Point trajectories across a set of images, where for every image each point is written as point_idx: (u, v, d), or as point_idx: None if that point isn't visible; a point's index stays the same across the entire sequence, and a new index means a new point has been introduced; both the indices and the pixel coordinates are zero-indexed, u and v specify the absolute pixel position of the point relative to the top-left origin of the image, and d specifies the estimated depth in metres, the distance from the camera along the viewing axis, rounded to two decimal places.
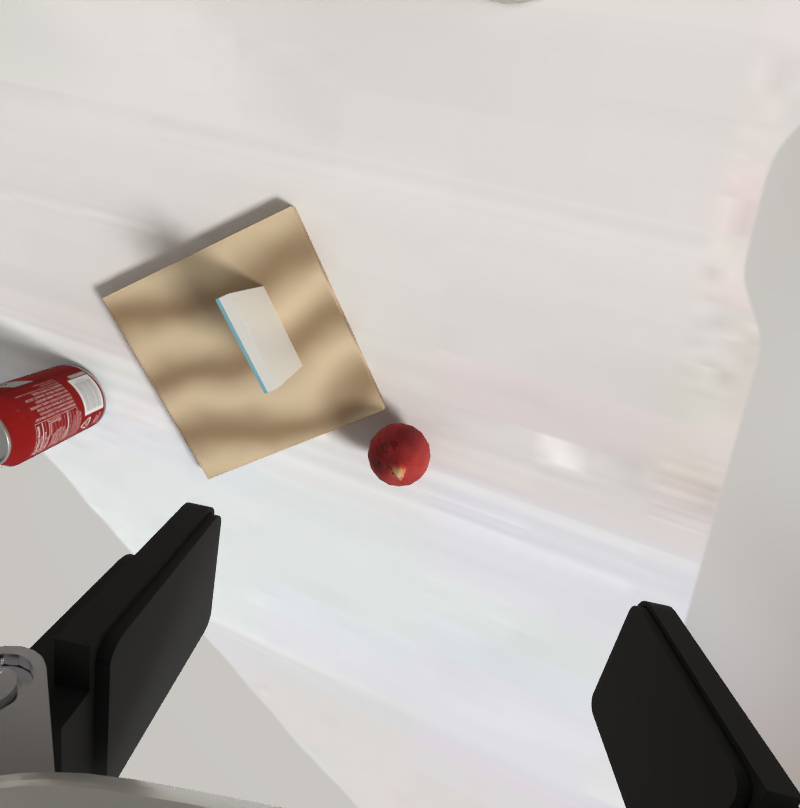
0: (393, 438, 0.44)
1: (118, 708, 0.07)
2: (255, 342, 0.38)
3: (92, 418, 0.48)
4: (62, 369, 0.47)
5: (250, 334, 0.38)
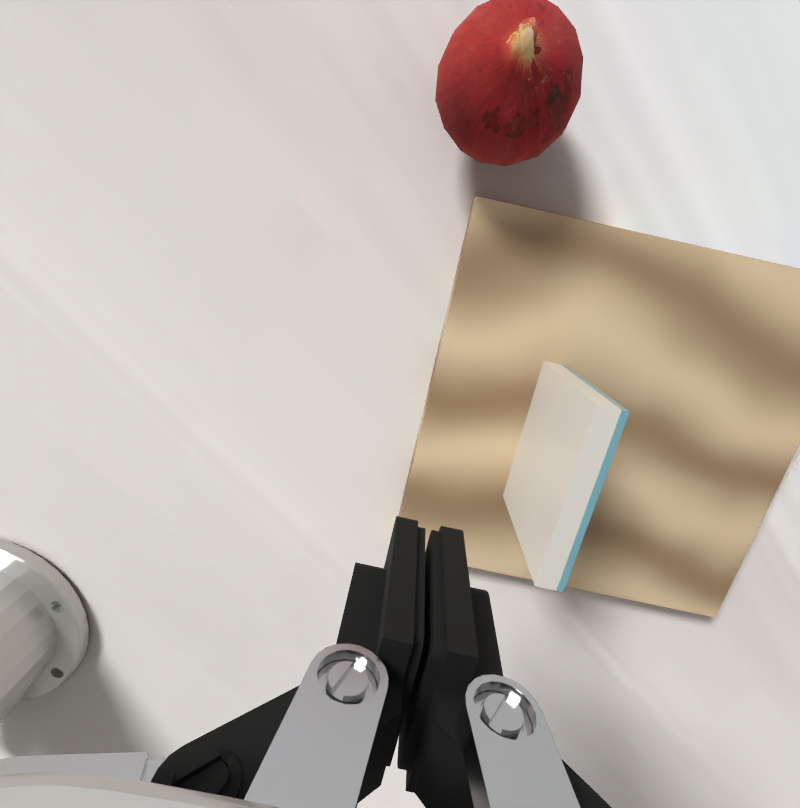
0: (486, 134, 0.19)
1: None
2: (563, 496, 0.19)
3: None
4: None
5: (559, 514, 0.19)
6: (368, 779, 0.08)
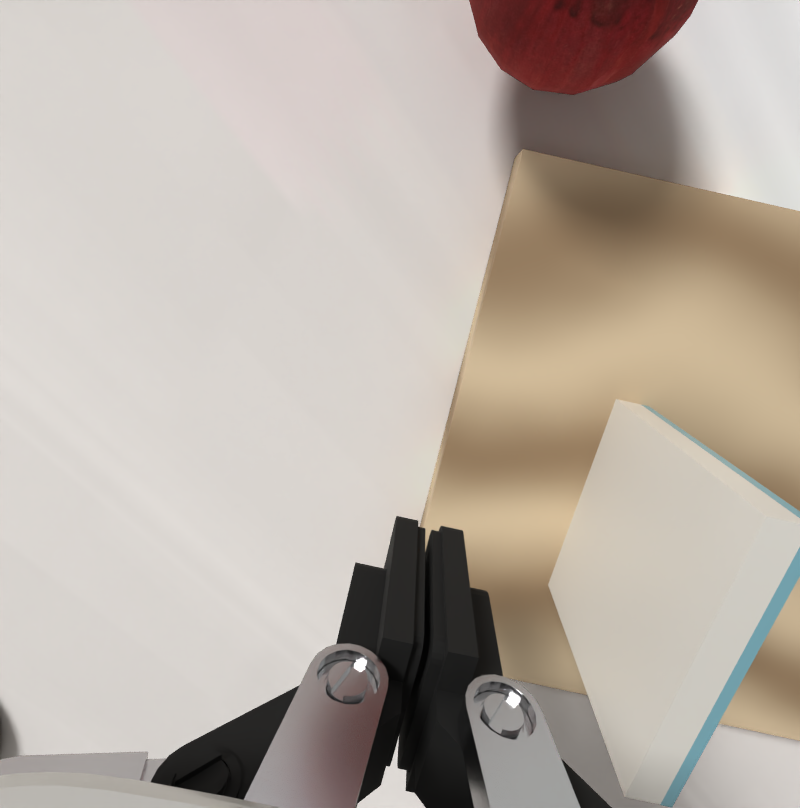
0: (554, 21, 0.11)
1: None
2: (682, 659, 0.11)
3: None
4: None
5: (674, 689, 0.11)
6: (368, 779, 0.08)
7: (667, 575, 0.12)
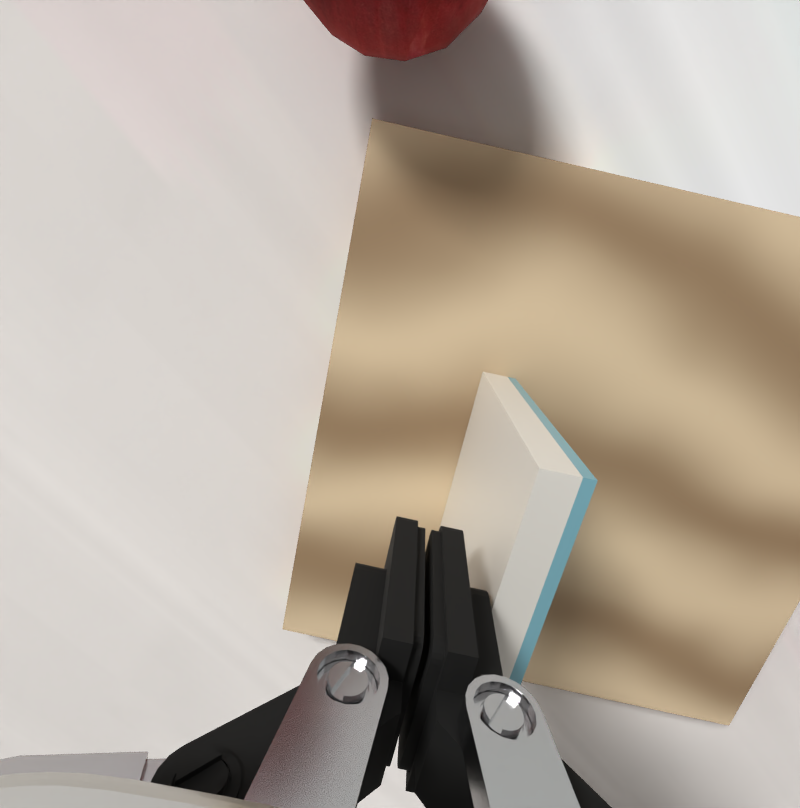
0: None
1: None
2: None
3: None
4: None
5: None
6: (368, 779, 0.08)
7: (487, 537, 0.12)
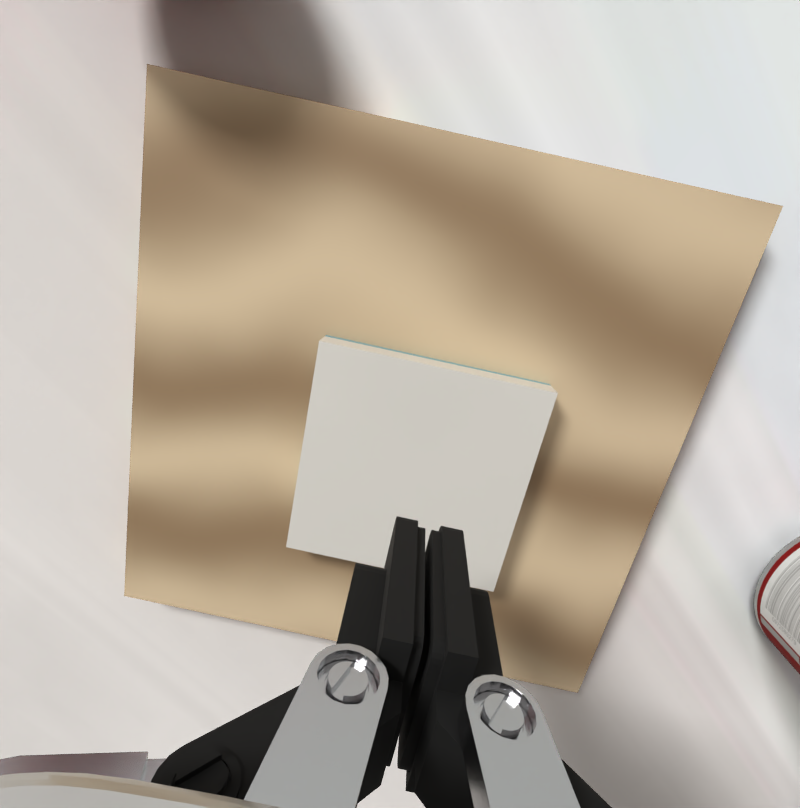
0: None
1: None
2: (515, 495, 0.17)
3: None
4: (792, 664, 0.19)
5: (515, 514, 0.17)
6: (368, 779, 0.08)
7: (480, 458, 0.17)
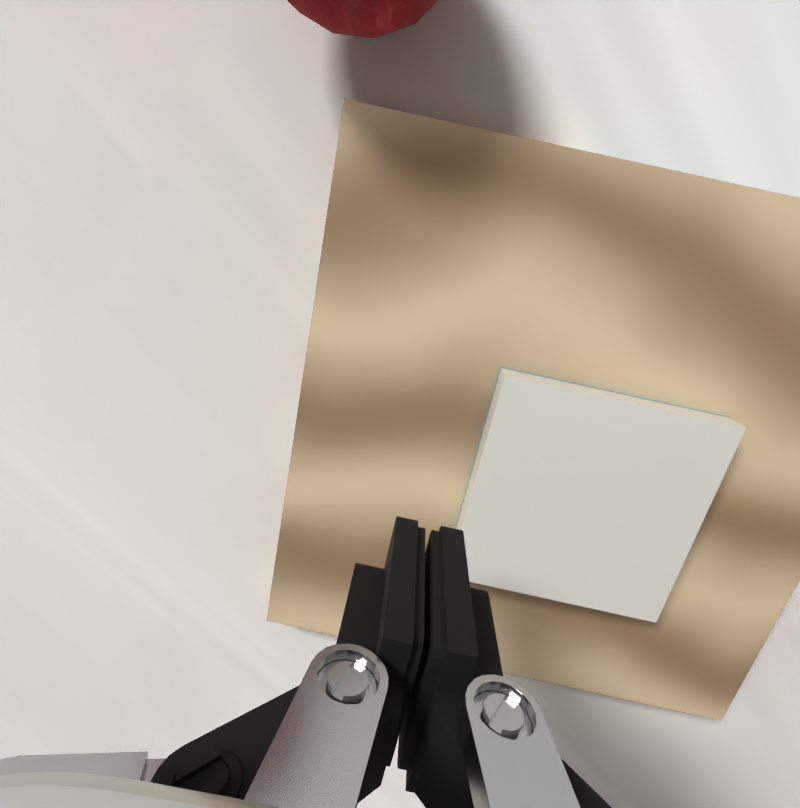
0: None
1: None
2: (690, 528, 0.17)
3: None
4: None
5: (687, 546, 0.17)
6: (368, 779, 0.08)
7: (657, 491, 0.17)
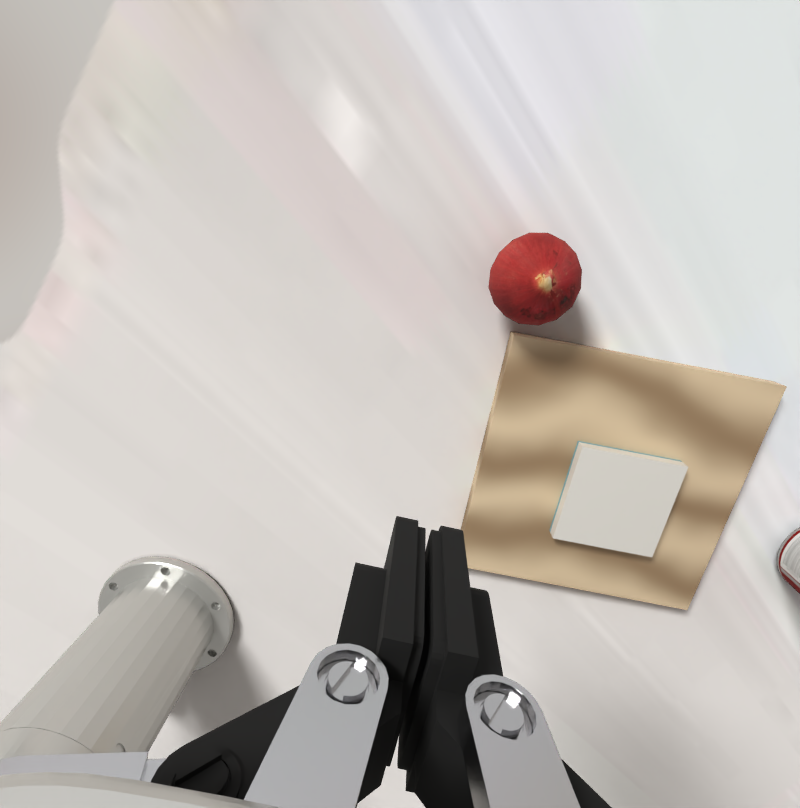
0: (522, 317, 0.31)
1: None
2: (666, 512, 0.37)
3: None
4: (796, 590, 0.39)
5: (665, 520, 0.38)
6: (368, 779, 0.08)
7: (650, 495, 0.37)
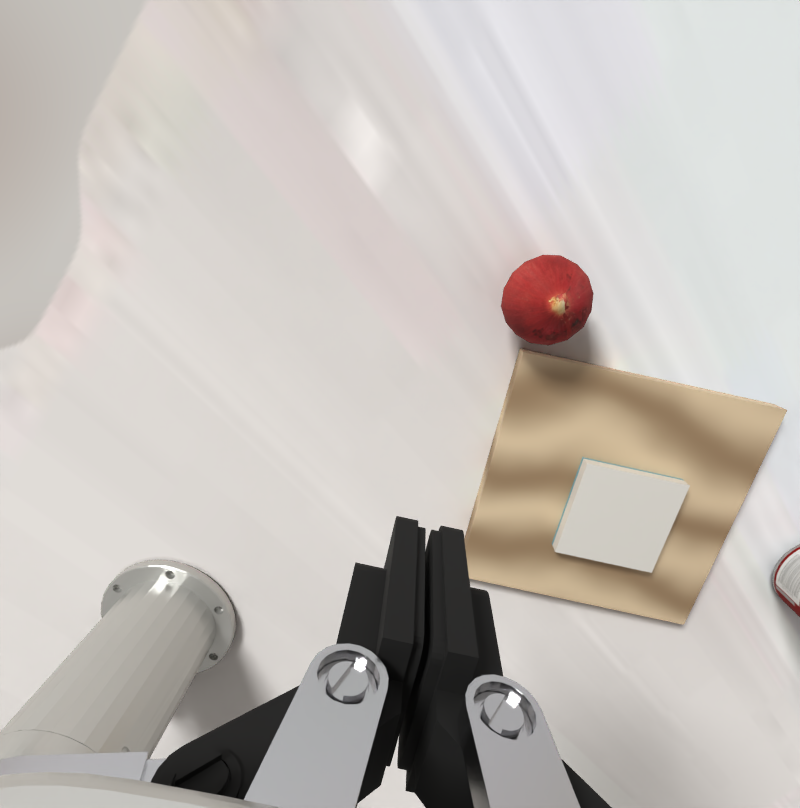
0: (534, 337, 0.32)
1: None
2: (666, 529, 0.38)
3: None
4: (791, 608, 0.40)
5: (665, 537, 0.38)
6: (368, 779, 0.08)
7: (652, 512, 0.38)
